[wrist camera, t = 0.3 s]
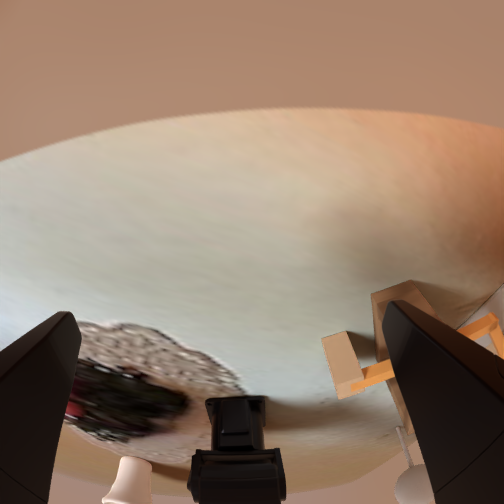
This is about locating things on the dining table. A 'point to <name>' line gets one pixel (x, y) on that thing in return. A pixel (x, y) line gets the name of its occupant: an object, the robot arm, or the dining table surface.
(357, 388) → the rail
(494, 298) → the mat
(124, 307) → the dining table surface
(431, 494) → the lollipop
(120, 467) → the cup
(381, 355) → the brown rectangular frame
